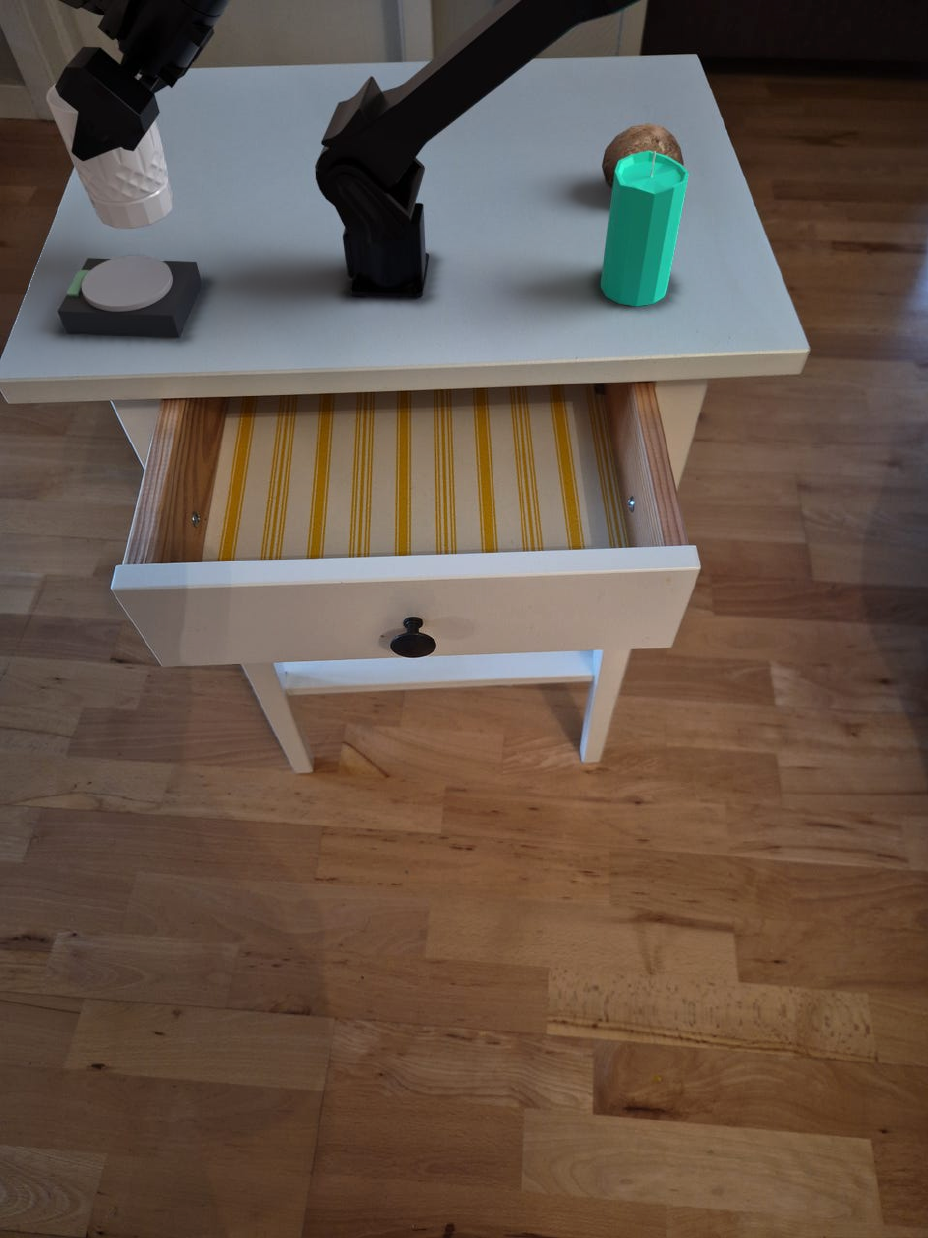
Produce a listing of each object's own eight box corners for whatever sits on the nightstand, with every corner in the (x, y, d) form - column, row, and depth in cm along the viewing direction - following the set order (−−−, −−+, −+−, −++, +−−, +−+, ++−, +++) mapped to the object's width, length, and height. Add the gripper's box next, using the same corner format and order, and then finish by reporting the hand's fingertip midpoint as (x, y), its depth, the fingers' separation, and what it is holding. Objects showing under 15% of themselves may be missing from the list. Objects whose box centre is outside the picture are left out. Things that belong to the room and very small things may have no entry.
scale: (202, 283, 82) (195, 255, 80) (179, 337, 78) (170, 309, 75) (95, 279, 83) (85, 251, 81) (66, 333, 78) (53, 304, 76)
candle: (598, 266, 83) (614, 132, 73) (664, 267, 83) (688, 133, 73) (602, 306, 80) (619, 170, 70) (670, 306, 79) (697, 171, 70)
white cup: (191, 187, 82) (158, 67, 74) (167, 234, 78) (129, 113, 70) (107, 185, 83) (65, 66, 75) (78, 232, 78) (31, 111, 70)
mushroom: (607, 130, 92) (631, 94, 86) (675, 167, 93) (704, 134, 87) (580, 200, 91) (602, 168, 85) (649, 236, 92) (676, 207, 86)
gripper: (131, -161, 67) (47, 7, 76) (28, -72, 56) (-54, 110, 65) (257, -33, 72) (164, 108, 82) (186, 71, 61) (88, 219, 71)
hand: (95, 132), depth 75 cm, fingers closed on white cup, 7 cm apart
